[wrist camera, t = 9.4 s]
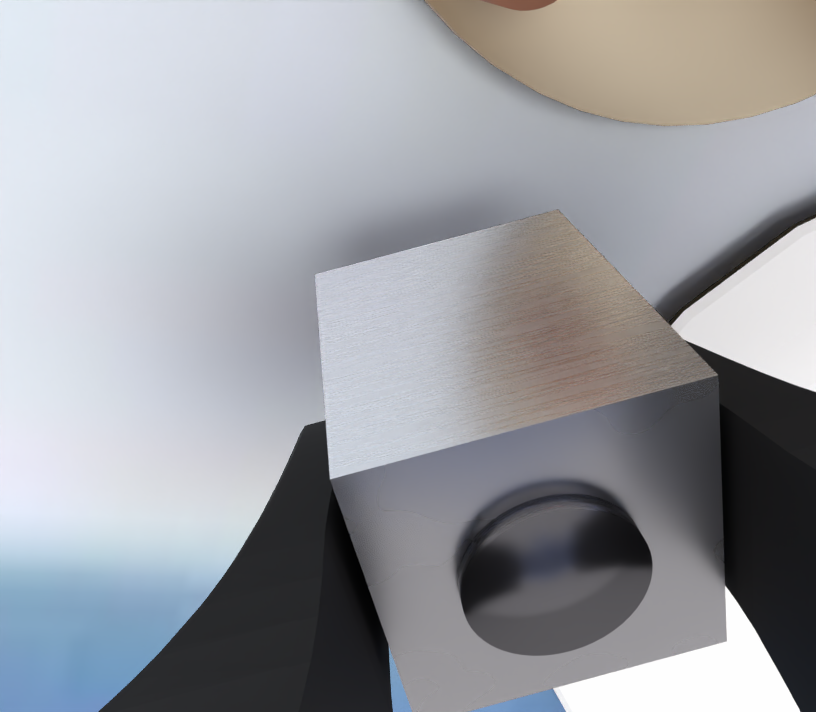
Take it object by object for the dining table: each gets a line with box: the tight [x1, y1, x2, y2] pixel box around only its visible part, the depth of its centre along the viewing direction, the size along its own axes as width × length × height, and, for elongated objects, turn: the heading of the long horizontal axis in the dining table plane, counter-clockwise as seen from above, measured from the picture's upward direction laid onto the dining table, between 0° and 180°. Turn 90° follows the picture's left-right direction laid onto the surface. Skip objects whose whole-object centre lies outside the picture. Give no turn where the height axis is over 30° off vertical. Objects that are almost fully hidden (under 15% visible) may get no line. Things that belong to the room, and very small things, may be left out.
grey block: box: [315, 210, 727, 712], centre depth 12 cm, size 4×4×6 cm
